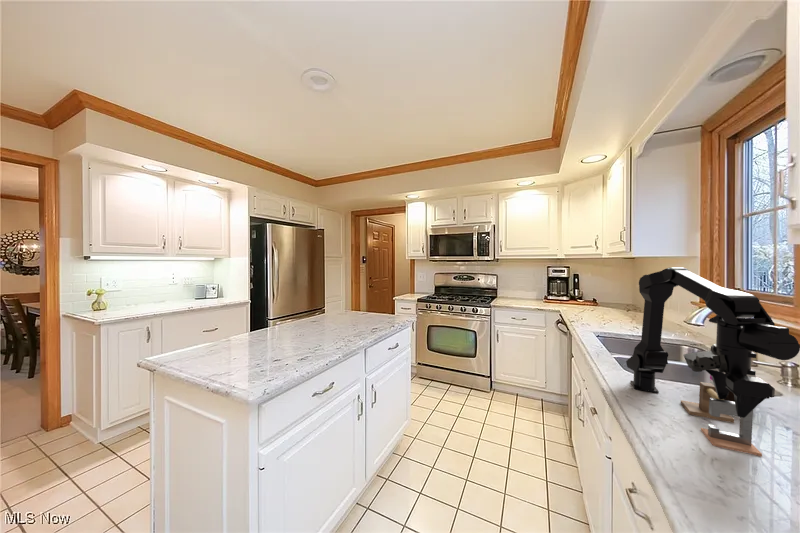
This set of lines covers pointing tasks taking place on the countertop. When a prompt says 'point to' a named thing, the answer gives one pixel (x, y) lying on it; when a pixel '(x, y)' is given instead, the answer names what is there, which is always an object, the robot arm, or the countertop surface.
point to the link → (730, 409)
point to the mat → (732, 444)
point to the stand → (705, 403)
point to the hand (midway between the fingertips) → (730, 407)
